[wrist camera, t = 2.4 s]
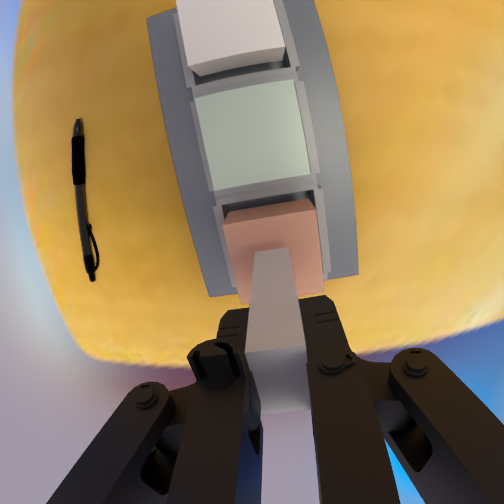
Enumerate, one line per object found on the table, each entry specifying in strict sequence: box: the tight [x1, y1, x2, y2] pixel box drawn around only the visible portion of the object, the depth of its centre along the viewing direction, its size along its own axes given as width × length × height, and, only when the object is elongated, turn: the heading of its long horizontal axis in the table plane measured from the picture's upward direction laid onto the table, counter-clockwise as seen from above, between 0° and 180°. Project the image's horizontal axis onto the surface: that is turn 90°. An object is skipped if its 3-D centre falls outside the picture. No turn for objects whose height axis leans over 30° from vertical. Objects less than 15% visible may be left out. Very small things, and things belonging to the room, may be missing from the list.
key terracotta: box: [222, 198, 325, 304], centre depth 15 cm, size 4×4×2 cm
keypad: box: [147, 0, 359, 297], centre depth 16 cm, size 21×11×4 cm, turn 11°
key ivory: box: [176, 0, 285, 76], centre depth 11 cm, size 4×4×2 cm
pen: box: [72, 119, 99, 282], centre depth 20 cm, size 14×2×1 cm, turn 177°
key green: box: [195, 79, 311, 191], centre depth 13 cm, size 4×4×2 cm
